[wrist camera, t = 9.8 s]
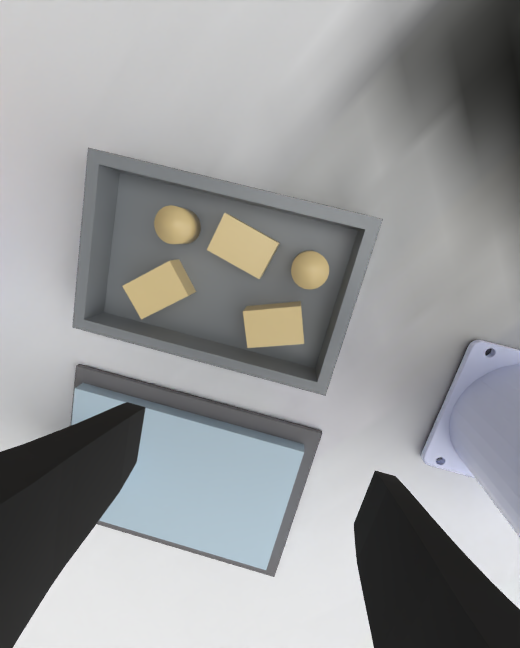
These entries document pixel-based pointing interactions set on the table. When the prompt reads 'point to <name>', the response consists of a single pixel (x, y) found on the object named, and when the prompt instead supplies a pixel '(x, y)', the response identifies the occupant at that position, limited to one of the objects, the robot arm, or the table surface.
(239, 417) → the mat
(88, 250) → the tub
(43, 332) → the table surface
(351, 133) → the table surface
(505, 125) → the table surface
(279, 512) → the lid
